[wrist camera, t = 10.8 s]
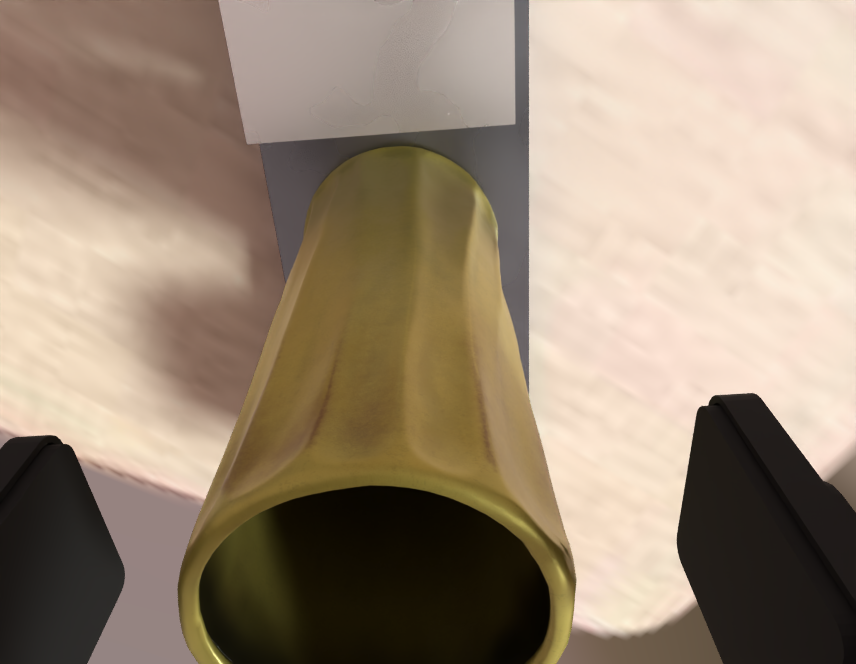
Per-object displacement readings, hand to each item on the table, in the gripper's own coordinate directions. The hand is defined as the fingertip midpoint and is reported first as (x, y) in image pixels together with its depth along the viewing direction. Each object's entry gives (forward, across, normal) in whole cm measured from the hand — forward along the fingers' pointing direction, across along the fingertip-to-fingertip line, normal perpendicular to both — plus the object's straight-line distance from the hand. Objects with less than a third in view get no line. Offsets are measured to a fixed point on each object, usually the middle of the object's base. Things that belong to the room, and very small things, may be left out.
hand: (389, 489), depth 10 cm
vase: (+12, 0, +1) cm, 13 cm away
